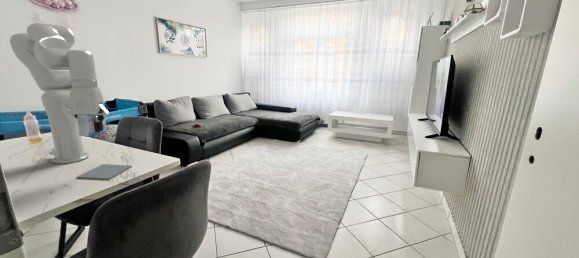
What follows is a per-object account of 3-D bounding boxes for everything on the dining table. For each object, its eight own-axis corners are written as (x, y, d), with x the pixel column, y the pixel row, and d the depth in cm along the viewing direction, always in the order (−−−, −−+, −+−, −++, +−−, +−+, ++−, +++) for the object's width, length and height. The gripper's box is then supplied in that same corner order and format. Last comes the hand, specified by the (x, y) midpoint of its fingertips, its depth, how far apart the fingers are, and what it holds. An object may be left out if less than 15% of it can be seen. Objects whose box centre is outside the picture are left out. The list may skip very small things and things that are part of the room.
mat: (76, 178, 94) (76, 176, 94) (103, 165, 107) (102, 164, 107) (109, 179, 94) (109, 178, 94) (132, 166, 107) (131, 165, 106)
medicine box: (88, 137, 93) (86, 114, 92) (78, 136, 93) (76, 113, 92) (106, 133, 101) (105, 112, 99) (97, 132, 101) (95, 111, 100)
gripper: (53, 84, 89) (63, 132, 93) (99, 85, 89) (106, 134, 93) (72, 83, 96) (80, 128, 101) (114, 84, 96) (120, 129, 100)
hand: (92, 130), depth 97 cm, fingers closed on medicine box, 4 cm apart
